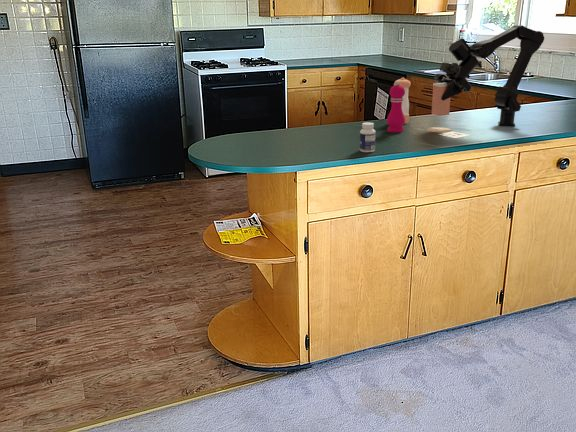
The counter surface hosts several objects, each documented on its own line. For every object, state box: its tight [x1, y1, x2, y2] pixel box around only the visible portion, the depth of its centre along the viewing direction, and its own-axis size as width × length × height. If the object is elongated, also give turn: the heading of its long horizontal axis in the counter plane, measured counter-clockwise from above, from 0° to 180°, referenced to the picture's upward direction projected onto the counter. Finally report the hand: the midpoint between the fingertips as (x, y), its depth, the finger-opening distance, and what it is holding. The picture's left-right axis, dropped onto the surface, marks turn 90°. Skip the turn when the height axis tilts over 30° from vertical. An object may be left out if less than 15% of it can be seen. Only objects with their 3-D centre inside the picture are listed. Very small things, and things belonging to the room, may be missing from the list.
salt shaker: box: [393, 77, 411, 125], centre depth 254 cm, size 7×7×19 cm
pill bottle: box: [359, 121, 376, 153], centre depth 206 cm, size 5×5×10 cm
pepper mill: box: [386, 81, 405, 133], centre depth 236 cm, size 7×7×20 cm
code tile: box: [437, 130, 469, 139], centre depth 230 cm, size 9×9×1 cm
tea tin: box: [431, 82, 452, 117], centre depth 235 cm, size 5×5×12 cm
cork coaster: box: [426, 126, 453, 134], centre depth 239 cm, size 10×10×1 cm
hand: (438, 98), depth 234 cm, fingers closed on tea tin, 5 cm apart
